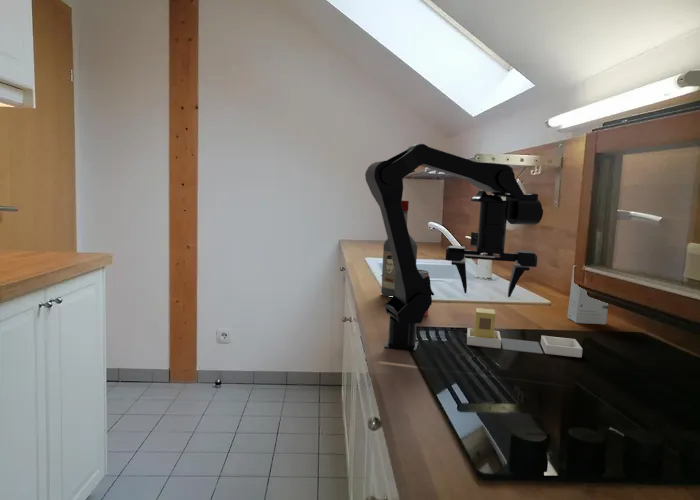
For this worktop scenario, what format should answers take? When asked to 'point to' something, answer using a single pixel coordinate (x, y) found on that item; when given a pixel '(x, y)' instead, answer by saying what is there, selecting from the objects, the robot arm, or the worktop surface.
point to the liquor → (388, 262)
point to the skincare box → (585, 306)
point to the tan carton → (484, 323)
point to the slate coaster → (521, 345)
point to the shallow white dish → (483, 339)
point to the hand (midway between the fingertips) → (486, 294)
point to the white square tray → (561, 346)
